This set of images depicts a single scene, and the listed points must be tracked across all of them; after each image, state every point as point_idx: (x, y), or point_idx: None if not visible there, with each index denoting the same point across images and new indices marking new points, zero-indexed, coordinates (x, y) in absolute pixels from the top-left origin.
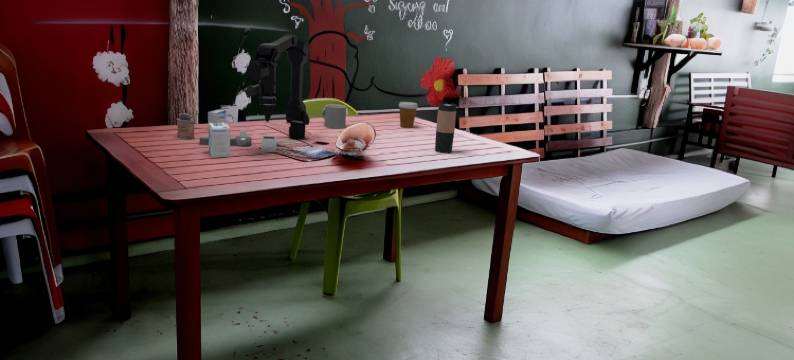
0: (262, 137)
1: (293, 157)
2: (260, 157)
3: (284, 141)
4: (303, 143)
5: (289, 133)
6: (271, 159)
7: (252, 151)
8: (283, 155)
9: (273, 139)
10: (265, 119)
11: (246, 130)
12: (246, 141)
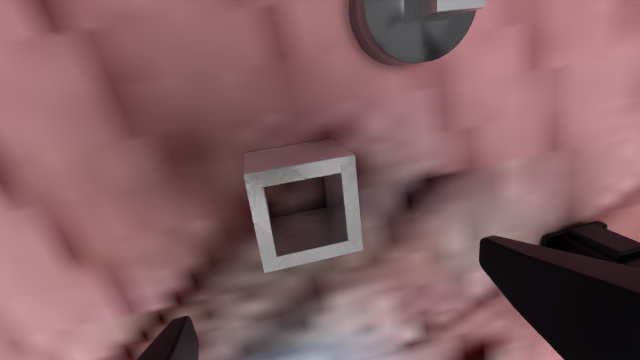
0: (300, 170)
1: None
2: (92, 173)
3: (496, 220)
4: (463, 303)
5: (582, 238)
6: (69, 242)
7: (238, 97)
8: (196, 279)
9: (260, 254)
10: (153, 342)
11: (466, 9)
12: (368, 32)
